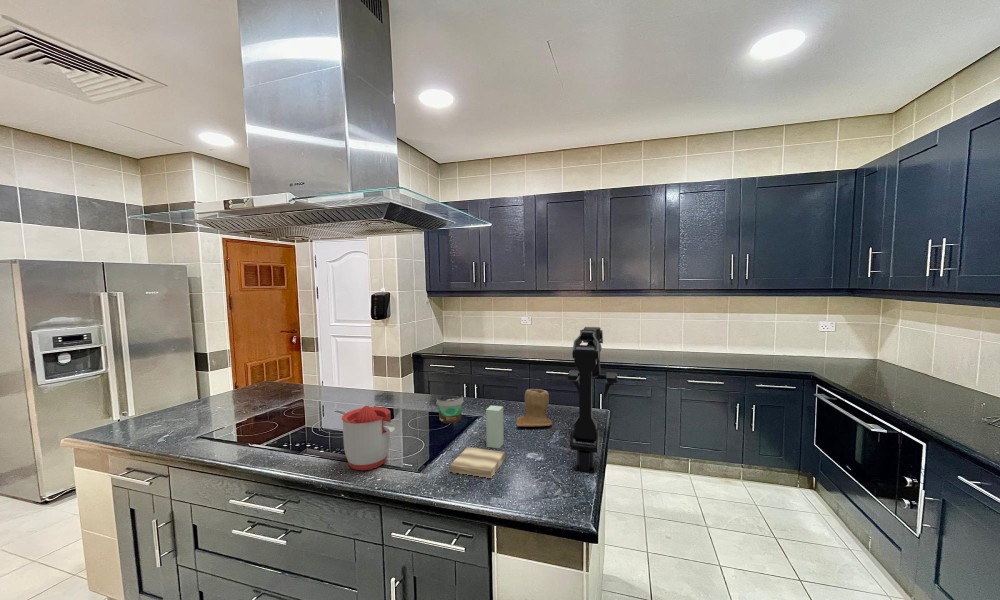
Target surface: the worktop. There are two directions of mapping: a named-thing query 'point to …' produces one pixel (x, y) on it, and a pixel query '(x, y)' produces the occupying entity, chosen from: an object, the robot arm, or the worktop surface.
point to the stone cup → (535, 409)
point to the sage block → (494, 426)
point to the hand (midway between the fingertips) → (592, 397)
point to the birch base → (478, 462)
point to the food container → (450, 410)
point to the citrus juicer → (367, 436)
